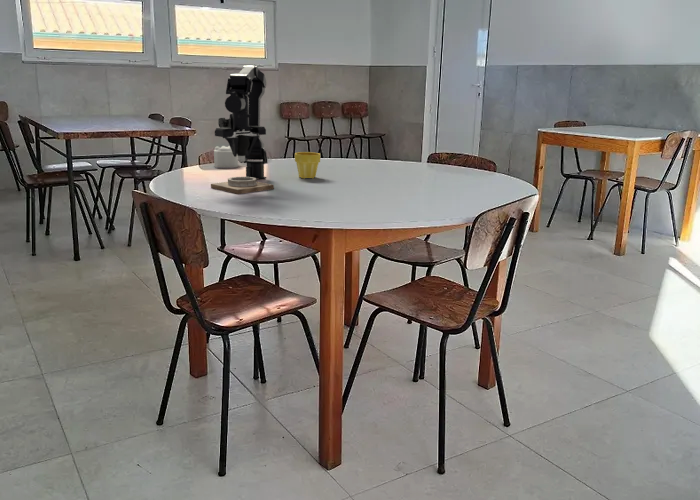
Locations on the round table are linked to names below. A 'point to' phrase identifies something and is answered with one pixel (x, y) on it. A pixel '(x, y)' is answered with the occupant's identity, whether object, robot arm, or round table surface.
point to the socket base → (241, 189)
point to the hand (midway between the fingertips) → (241, 155)
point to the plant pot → (307, 164)
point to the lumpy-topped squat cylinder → (224, 158)
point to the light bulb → (242, 147)
